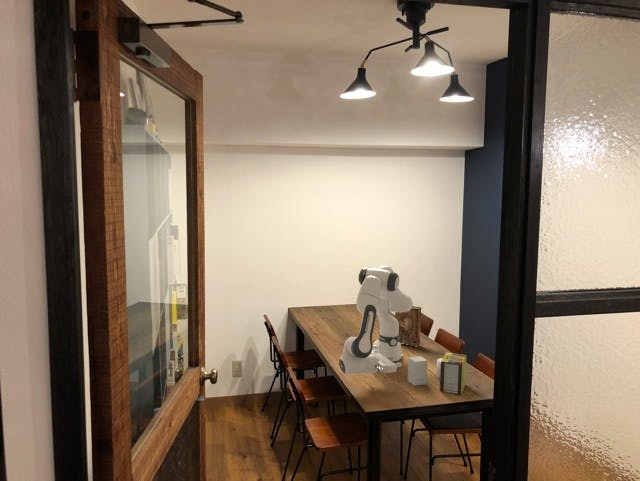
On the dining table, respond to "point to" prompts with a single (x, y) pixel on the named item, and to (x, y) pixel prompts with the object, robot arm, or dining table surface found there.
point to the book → (409, 326)
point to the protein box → (453, 373)
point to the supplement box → (417, 370)
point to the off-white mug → (438, 367)
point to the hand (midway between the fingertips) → (396, 361)
